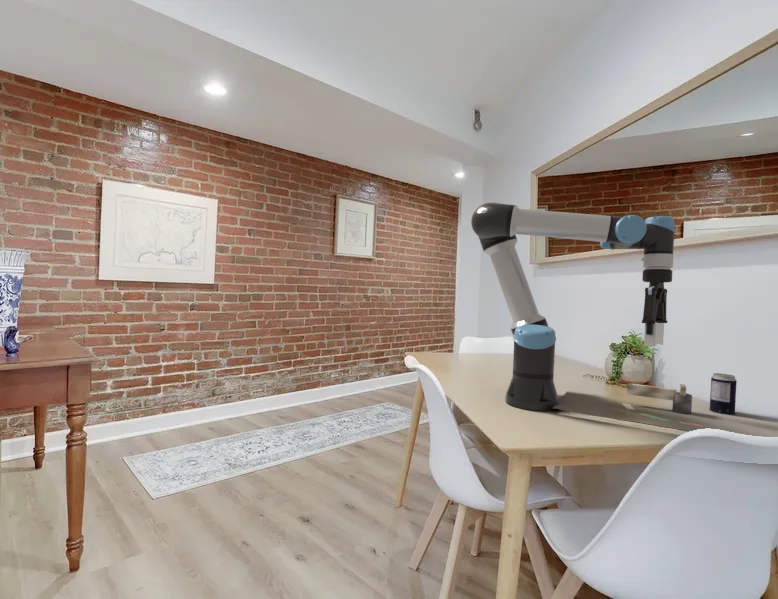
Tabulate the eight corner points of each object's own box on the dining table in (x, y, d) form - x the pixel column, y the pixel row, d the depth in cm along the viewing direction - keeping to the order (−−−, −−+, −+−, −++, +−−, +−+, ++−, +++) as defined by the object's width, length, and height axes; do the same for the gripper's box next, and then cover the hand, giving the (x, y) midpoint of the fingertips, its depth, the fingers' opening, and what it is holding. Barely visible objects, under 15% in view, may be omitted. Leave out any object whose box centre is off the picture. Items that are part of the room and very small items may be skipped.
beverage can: (739, 420, 118) (741, 377, 117) (716, 418, 119) (718, 376, 118) (727, 414, 123) (729, 373, 123) (705, 413, 124) (707, 372, 124)
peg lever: (616, 403, 126) (618, 378, 126) (617, 400, 129) (619, 376, 129) (691, 415, 116) (693, 388, 116) (690, 411, 120) (691, 385, 120)
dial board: (613, 418, 115) (614, 413, 115) (617, 404, 130) (617, 400, 130) (705, 434, 104) (705, 428, 104) (697, 416, 120) (698, 411, 120)
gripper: (653, 271, 136) (649, 341, 137) (632, 267, 122) (628, 345, 123) (680, 270, 131) (677, 344, 131) (662, 266, 117) (658, 348, 117)
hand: (653, 344), depth 127 cm, fingers open, 8 cm apart
